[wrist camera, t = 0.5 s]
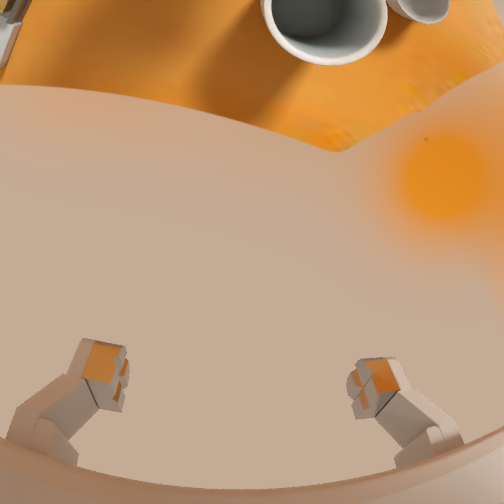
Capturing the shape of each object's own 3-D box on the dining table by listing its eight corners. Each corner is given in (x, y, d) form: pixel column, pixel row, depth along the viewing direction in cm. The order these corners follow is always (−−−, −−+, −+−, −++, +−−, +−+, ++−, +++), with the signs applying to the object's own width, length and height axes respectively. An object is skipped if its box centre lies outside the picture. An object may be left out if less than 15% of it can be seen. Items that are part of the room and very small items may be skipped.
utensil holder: (247, 33, 41) (251, 51, 29) (264, -43, 30) (277, -60, 18) (331, 51, 43) (368, 80, 32) (352, -20, 32) (401, -18, 21)
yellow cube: (9, -13, 22) (-2, -10, 20) (21, -8, 24) (10, -6, 22) (0, 5, 25) (-10, 8, 22) (12, 10, 27) (2, 13, 24)
